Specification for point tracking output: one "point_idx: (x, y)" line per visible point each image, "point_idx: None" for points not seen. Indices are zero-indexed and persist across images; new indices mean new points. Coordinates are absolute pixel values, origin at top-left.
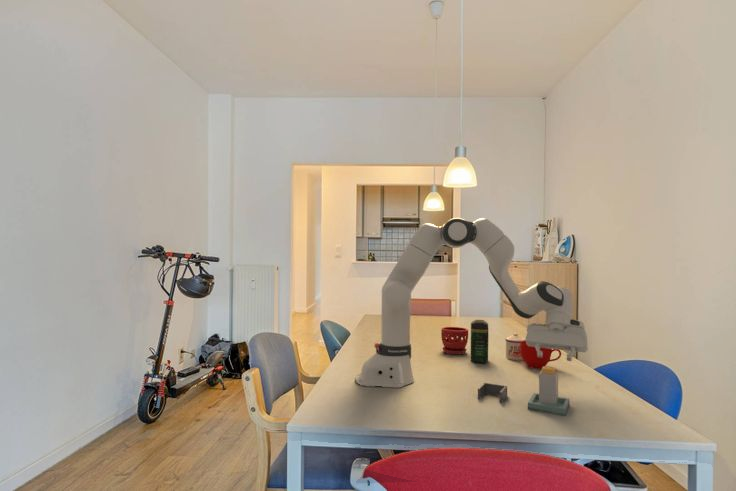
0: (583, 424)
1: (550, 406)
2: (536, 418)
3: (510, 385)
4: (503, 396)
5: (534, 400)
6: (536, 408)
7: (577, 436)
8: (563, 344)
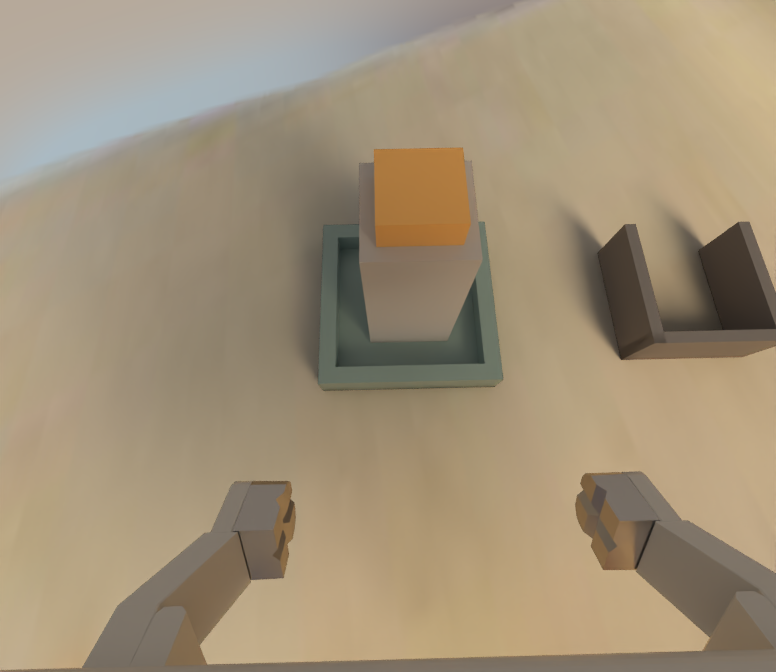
0: (260, 196)
1: None
2: None
3: None
4: (615, 275)
5: (475, 307)
6: None
7: (278, 97)
8: (301, 669)
